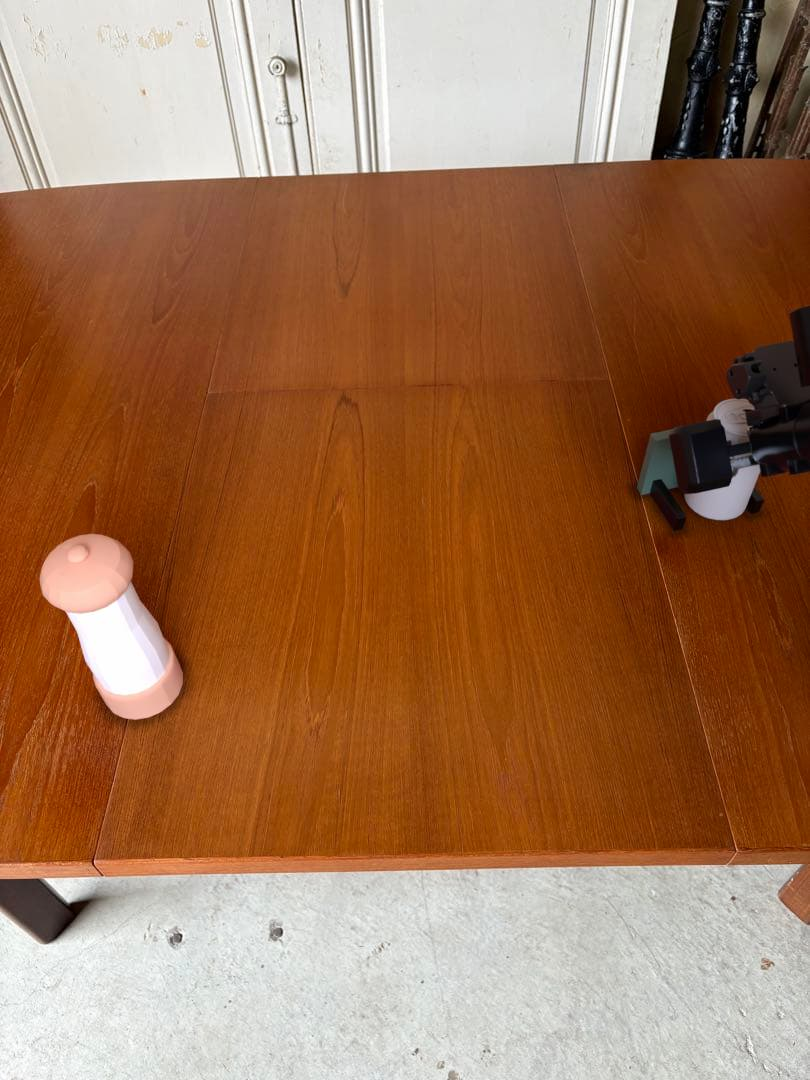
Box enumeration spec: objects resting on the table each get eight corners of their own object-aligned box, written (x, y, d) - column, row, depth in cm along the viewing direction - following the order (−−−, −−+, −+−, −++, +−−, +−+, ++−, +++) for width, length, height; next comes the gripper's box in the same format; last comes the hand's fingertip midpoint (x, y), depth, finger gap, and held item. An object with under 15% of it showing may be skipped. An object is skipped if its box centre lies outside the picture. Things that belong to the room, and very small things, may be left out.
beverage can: (753, 522, 85) (790, 434, 76) (693, 527, 85) (723, 440, 76) (732, 480, 89) (764, 392, 80) (674, 485, 89) (700, 397, 80)
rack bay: (767, 510, 88) (791, 455, 82) (665, 533, 86) (682, 479, 80) (734, 467, 92) (754, 412, 87) (636, 487, 91) (650, 433, 85)
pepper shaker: (95, 720, 73) (12, 589, 59) (114, 652, 78) (41, 516, 64) (175, 719, 73) (111, 586, 59) (189, 651, 78) (133, 513, 64)
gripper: (907, 319, 68) (791, 354, 84) (705, 357, 66) (623, 387, 81) (928, 449, 69) (809, 461, 85) (729, 493, 66) (643, 496, 82)
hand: (723, 449), depth 83 cm, fingers closed on beverage can, 6 cm apart
